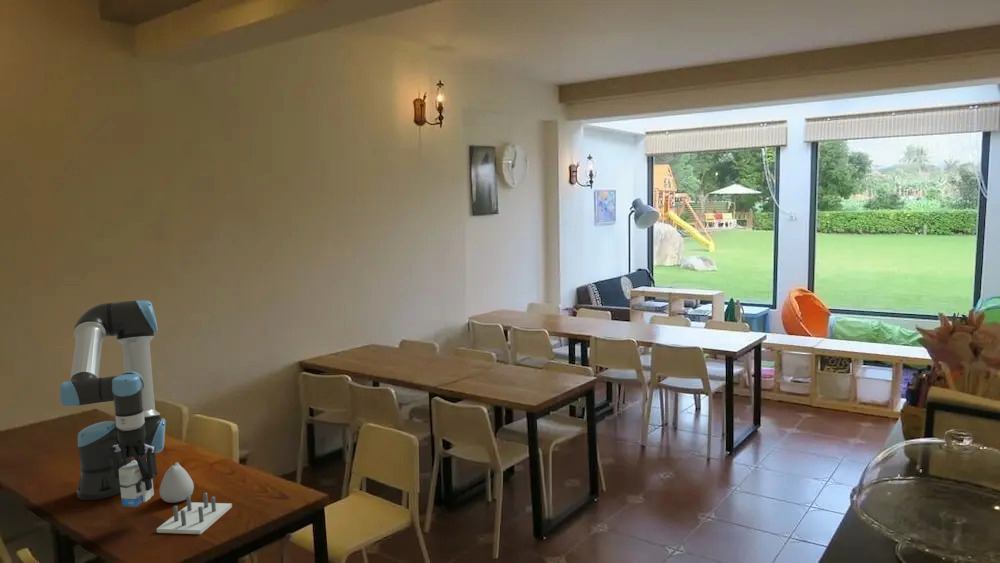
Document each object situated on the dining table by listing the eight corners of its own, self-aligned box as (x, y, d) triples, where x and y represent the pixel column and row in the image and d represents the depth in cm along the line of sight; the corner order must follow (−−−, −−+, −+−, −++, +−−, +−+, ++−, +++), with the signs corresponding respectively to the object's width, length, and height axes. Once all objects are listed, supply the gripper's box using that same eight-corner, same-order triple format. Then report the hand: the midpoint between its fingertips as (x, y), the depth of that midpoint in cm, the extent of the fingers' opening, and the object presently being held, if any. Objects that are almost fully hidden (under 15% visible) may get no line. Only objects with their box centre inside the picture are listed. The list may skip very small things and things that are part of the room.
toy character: (169, 492, 235) (166, 458, 234) (200, 491, 235) (197, 457, 234) (153, 505, 225) (150, 470, 224) (185, 505, 225) (182, 469, 223)
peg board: (156, 532, 206) (155, 514, 206) (191, 505, 224) (189, 489, 223) (200, 534, 204) (199, 515, 204) (231, 507, 222) (230, 490, 221)
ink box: (135, 507, 206) (131, 470, 205) (121, 506, 207) (117, 469, 206) (155, 494, 215) (151, 458, 213) (141, 493, 216) (137, 457, 214)
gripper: (94, 430, 205) (102, 503, 209) (150, 431, 203) (158, 506, 206) (111, 421, 212) (119, 492, 216) (166, 422, 210) (173, 495, 213)
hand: (138, 499), depth 211 cm, fingers closed on ink box, 5 cm apart
